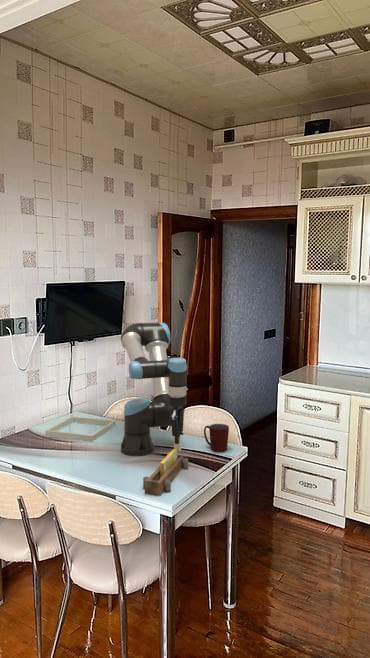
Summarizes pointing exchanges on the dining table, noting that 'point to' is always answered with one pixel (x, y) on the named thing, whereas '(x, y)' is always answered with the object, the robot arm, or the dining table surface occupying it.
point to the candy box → (168, 462)
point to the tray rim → (54, 433)
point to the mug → (217, 437)
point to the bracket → (163, 478)
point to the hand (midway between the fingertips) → (177, 450)
